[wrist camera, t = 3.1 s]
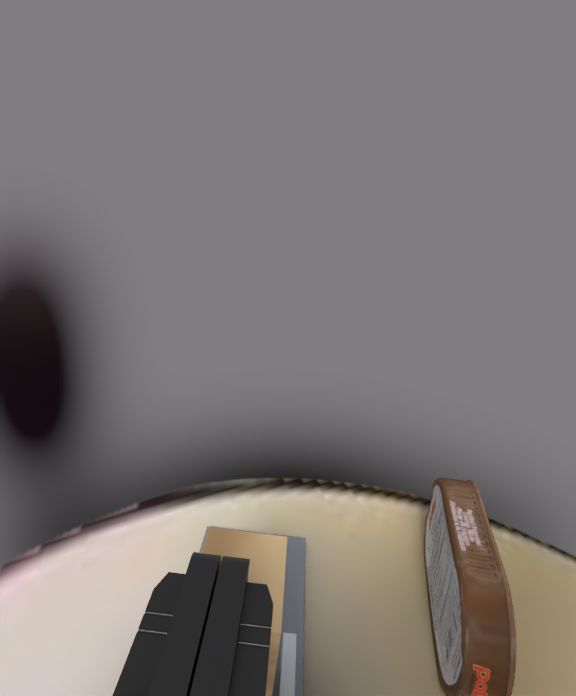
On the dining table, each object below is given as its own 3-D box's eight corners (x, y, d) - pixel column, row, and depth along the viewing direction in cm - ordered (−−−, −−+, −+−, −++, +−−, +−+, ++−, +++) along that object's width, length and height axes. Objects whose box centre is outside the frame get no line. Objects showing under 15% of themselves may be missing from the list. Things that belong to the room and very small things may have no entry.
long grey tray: (304, 542, 35) (307, 523, 34) (294, 1099, 14) (302, 1080, 13) (207, 531, 35) (208, 511, 34) (49, 1066, 14) (42, 1046, 13)
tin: (492, 751, 23) (543, 647, 20) (433, 734, 24) (473, 630, 21) (451, 541, 37) (477, 460, 34) (413, 532, 38) (436, 452, 34)
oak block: (269, 664, 26) (287, 536, 22) (260, 772, 21) (281, 632, 17) (203, 656, 26) (209, 527, 22) (179, 762, 21) (182, 620, 17)
